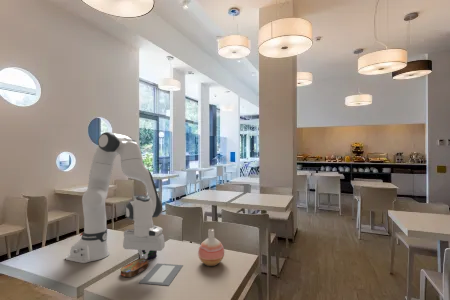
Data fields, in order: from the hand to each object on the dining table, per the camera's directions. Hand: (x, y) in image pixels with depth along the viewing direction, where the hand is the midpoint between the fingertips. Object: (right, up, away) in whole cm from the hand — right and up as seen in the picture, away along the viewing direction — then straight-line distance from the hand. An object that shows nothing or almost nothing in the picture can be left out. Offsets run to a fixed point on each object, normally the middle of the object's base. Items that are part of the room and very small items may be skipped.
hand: (143, 258), depth 118 cm
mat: (+9, -7, -2) cm, 12 cm away
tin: (-1, -6, 0) cm, 6 cm away
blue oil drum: (-4, -7, +18) cm, 19 cm away
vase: (+32, -7, +9) cm, 34 cm away
